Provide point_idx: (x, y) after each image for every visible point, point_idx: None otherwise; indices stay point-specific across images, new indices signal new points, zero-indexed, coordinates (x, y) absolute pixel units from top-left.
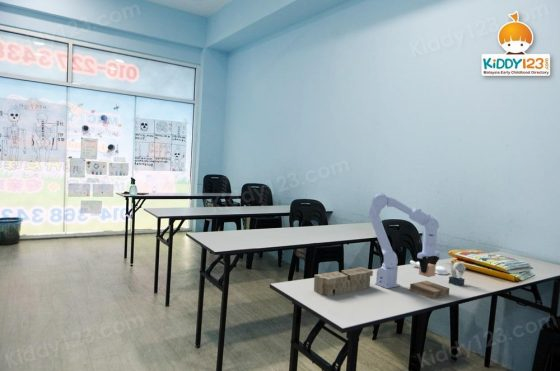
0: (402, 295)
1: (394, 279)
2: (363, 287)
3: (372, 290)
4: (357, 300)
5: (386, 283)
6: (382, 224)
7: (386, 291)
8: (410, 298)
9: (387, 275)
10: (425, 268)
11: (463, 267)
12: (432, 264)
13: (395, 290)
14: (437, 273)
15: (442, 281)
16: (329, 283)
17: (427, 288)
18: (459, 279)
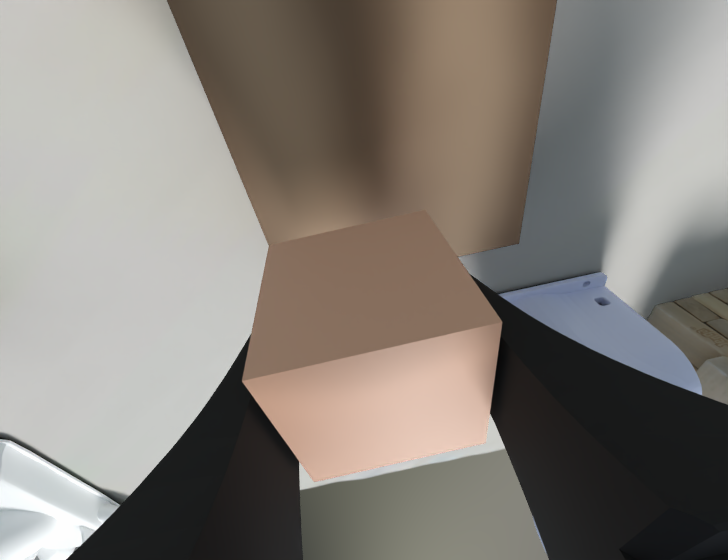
0: (663, 130)
1: (563, 325)
2: (714, 297)
3: (705, 261)
4: None
5: (617, 301)
6: None
7: (658, 231)
8: (696, 34)
9: (663, 344)
10: (516, 311)
11: None
12: (280, 418)
13: (587, 236)
14: (16, 445)
15: (46, 337)
16: None
17: (495, 75)
18: None
